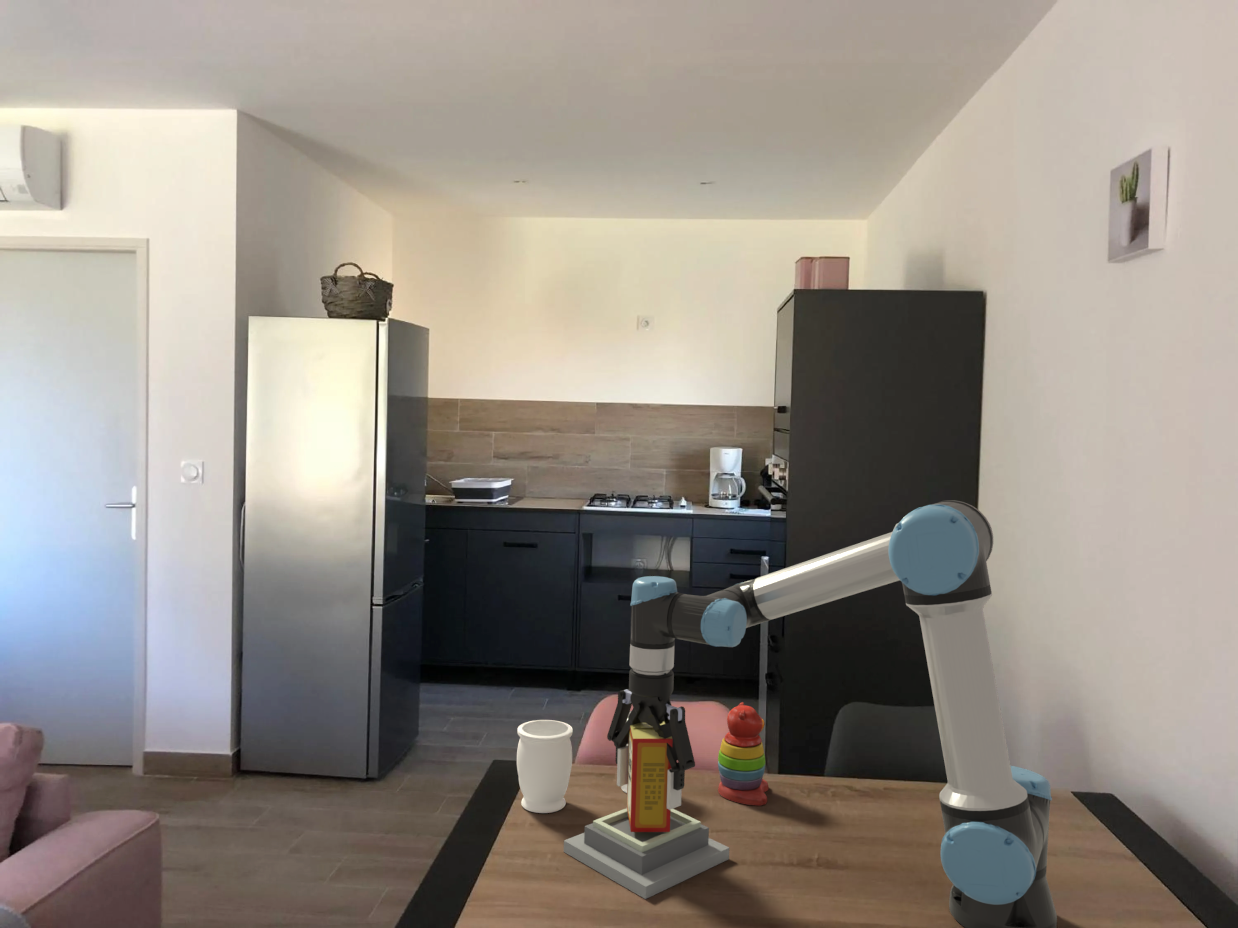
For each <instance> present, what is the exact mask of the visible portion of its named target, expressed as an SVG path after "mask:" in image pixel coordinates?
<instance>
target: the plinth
mask: <svg viewBox="0 0 1238 928" xmlns="http://www.w3.org/2000/svg"><path fill="white" fill-rule="evenodd" d="M709 834H710V827H709V826H706V825H704V824H702V822H701V821H700V820H698V819H696V818H693V817H691V816H689V815H687V814H686V813H683V812H681V811H679V810H677V809H675V808H673V809H671V810H670V832H631V831H630V825H629V819H628V812H627V807H626V808H623V809H621V810H618V811H615V812H612V813H610V814H608V815H605V816H602V817H599V818H597V819H595V820H594V819H593V820H592V823H590V824H586V825H584V832H582V833H580V834H577V835H575V836H572V837H569V838H567V839H565V840H563V853H565V854H567V855H568V856H570V857H572V858H573V859H576V860H577V861H579V862H580V863H582V864H584V865H586V866H587V867H589V868H591V869H593V870H594V871H596V872H598V873H599V874H601V875H602V876H604V877H606V878H608V879H610V880H612V881H613V882H615V883H617V884H619V885H620V886H622V887H623V888H625V889H627V890H629V891H631V892H632V893H634V894H636V895H638V896H639V897H640V898H642V899H644V900H647V899H649V898H651V897H653V896H655V895H657V894H659V893H662V892H664V891H665V890H668V889H669V888H672V887H674V886H676V885H679V884H680V883H682V882H685V881H687V880H688V879H691V878H693V877H694V876H697V875H698V874H699V875H700V874H701V873H703V872H705V871H707V870H709V869H711V868H713V867H716V866H717V865H720V864H722V863H723V862H726V861H728V860H729V859H730V847H729V846H727V845H725V844H723V843H721V842H719V841H716V840H715V839H712V838H710V836H709Z"/></svg>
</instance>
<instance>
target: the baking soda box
mask: <svg viewBox="0 0 1238 928" xmlns="http://www.w3.org/2000/svg"><path fill="white" fill-rule="evenodd" d="M663 724H665V722H663V723H662V724H660V725H663ZM672 741H673V739H672V737H669V738H666V739H665V738H662V737H660V736H659V735H658V733H657V732H655V731H654V729H653V727H652V726H650V725H648V724H647V723H638V724H634V725H632V726H631V725H630V732H629V740H628V779H627V793H626V808H627V812H628V819H629V825H630V831H631V832H670V810H669V809H667V776H668V769H671V765H670V763H669V760H668V758H667V755H666V751H667V743H668V744H669V745H670V746H671V747H672Z"/></svg>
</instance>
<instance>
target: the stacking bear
mask: <svg viewBox="0 0 1238 928" xmlns="http://www.w3.org/2000/svg"><path fill="white" fill-rule="evenodd" d="M726 722H727V728H728V732H727V733H726V734H725V735H724V737H723V738H722V740H721V742H720V743H721V744H720V749H719V750H718V757H717V760H718V761H717V766H718V767H717V768H718V771H719V778H720V782H719V784H718V789H717V791H718V792H717V793H718V794H719V795H720V796H721V797H723V798H724V799H726V800H729V801H732V802H735V803H738V804H743V805H749V806H756V807H757V806H758V807H760V806H765V805H766V804H767V802H768V796H767V795H766V793H765V792H767V791H769V783H768V781H767V780H765V779H764V778H763V777H764V774H765V769H766V756H765V755H766V754H765V750H764V745H763V742H762V741H763V740H762V738H761V736H760V735H759V734H760V733H762V731H763V730H764V727H765V724H766V722H765V720H764V719H763V718H762V717H761V716H760V715H759V714H758V712H757V710H756V709H754V708H753V707H752V706H750V705H745V703H744V702H743V701H742V702H740V703H739V704H738V705H737V706H735V707H733V708H732V709H731V710H729V712H728V714H727V718H726Z"/></svg>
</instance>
